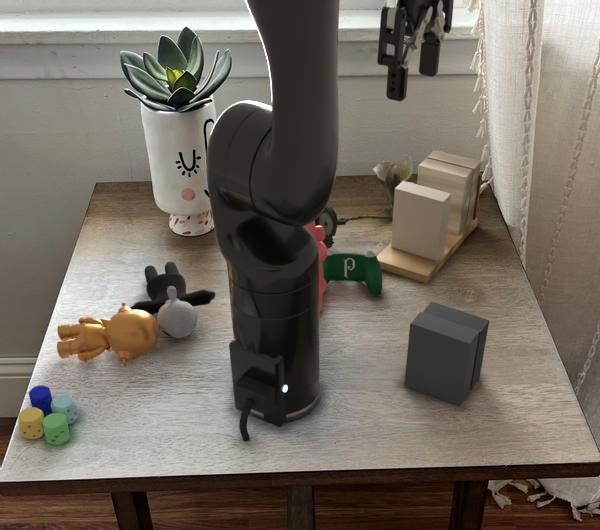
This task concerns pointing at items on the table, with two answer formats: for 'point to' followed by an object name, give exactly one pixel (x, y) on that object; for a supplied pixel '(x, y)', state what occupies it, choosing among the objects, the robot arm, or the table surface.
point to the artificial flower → (328, 219)
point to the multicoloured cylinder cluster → (52, 424)
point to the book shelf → (420, 262)
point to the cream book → (420, 220)
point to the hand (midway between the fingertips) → (412, 86)
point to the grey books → (445, 352)
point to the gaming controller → (354, 269)
